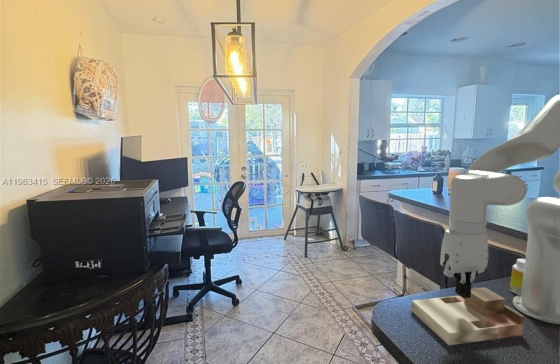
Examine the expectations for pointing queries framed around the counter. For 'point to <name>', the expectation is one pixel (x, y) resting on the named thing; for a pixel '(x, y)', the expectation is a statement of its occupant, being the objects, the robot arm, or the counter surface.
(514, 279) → the supplement bottle
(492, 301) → the block
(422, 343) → the counter surface
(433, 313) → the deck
